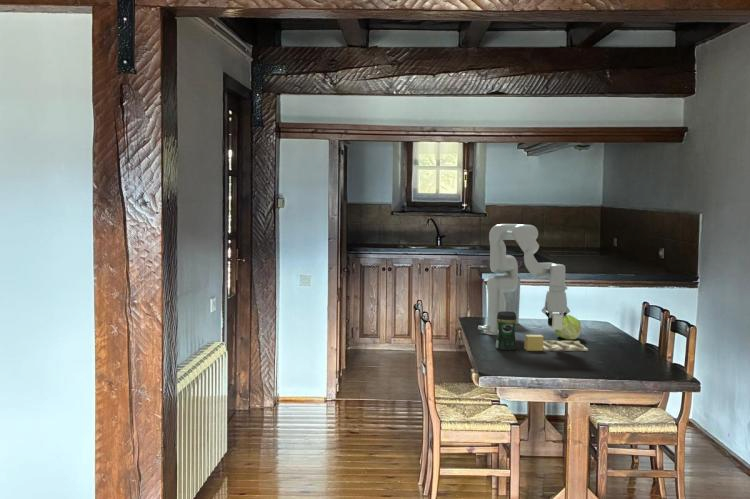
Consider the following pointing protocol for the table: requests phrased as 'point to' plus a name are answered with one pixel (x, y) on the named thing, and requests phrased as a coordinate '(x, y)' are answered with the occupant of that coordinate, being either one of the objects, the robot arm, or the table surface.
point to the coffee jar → (506, 330)
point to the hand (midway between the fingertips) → (555, 325)
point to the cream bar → (556, 321)
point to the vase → (513, 301)
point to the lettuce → (569, 328)
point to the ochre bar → (534, 342)
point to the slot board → (563, 346)
